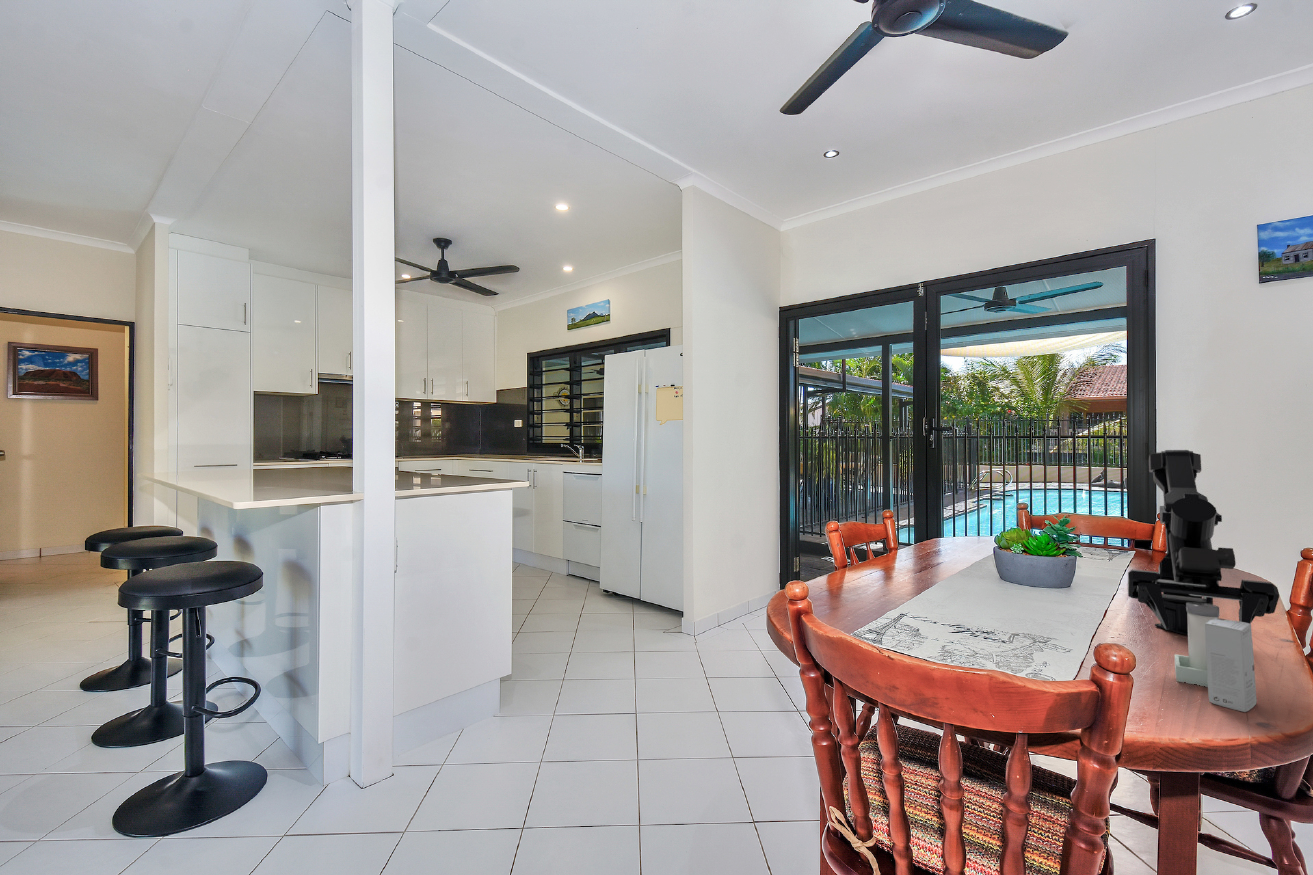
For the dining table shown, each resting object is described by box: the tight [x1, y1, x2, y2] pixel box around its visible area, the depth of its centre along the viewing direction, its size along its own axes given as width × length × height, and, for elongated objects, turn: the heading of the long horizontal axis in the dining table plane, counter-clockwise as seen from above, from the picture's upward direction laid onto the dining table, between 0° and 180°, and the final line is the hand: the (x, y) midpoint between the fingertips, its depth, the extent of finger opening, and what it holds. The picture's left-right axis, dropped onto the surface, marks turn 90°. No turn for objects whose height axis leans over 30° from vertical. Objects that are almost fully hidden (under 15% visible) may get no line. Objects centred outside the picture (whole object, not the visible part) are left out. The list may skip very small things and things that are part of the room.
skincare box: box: [1205, 617, 1257, 713], centre depth 86 cm, size 6×4×12 cm
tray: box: [1174, 653, 1208, 688], centre depth 95 cm, size 7×7×2 cm
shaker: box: [1186, 602, 1220, 671], centre depth 95 cm, size 4×4×12 cm
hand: (1204, 633), depth 94 cm, fingers open, 9 cm apart
